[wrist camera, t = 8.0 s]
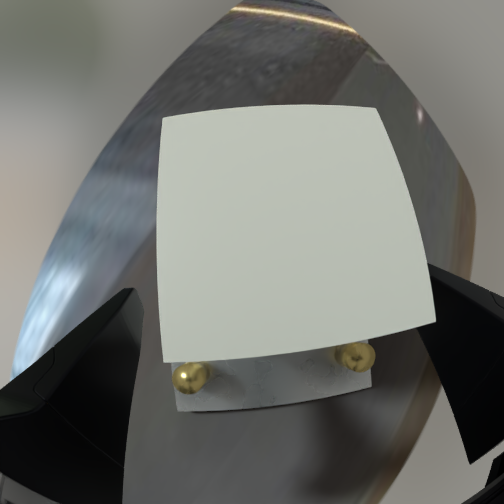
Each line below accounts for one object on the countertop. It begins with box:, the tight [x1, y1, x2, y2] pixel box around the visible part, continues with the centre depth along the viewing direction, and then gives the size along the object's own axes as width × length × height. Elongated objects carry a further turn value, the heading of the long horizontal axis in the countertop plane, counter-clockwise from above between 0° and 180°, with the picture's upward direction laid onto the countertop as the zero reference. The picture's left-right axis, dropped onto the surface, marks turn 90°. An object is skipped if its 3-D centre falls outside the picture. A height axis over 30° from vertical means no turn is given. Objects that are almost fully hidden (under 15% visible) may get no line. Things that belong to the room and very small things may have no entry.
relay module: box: [157, 105, 436, 362], centre depth 11 cm, size 5×5×12 cm
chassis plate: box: [171, 339, 375, 411], centre depth 16 cm, size 14×12×4 cm
